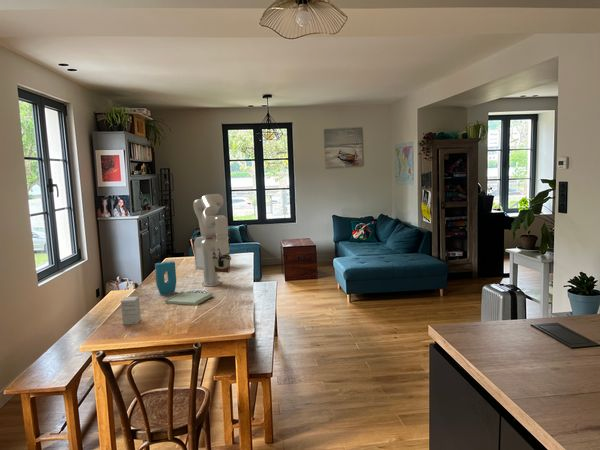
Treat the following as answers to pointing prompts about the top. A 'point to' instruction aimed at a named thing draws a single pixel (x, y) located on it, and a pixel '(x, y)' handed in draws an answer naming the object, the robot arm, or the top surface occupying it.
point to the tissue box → (199, 252)
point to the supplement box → (130, 310)
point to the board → (188, 298)
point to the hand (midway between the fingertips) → (223, 265)
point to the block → (160, 282)
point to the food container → (225, 262)
